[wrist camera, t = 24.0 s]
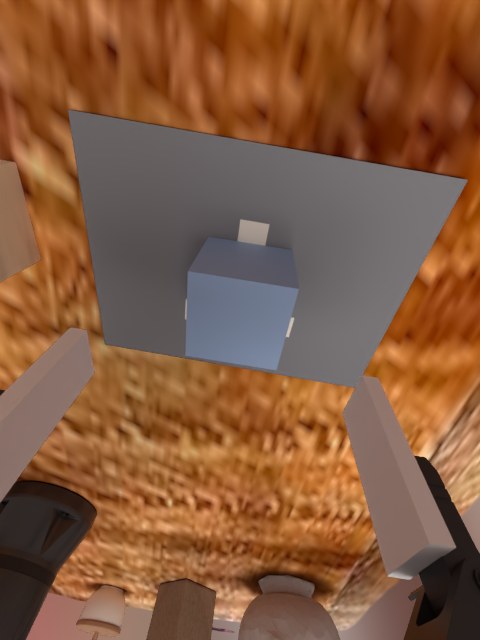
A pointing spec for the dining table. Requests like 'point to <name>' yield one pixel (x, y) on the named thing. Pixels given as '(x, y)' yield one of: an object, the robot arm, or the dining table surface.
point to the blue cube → (240, 302)
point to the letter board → (252, 235)
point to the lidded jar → (103, 612)
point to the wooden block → (182, 612)
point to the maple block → (14, 224)
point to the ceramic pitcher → (286, 613)
